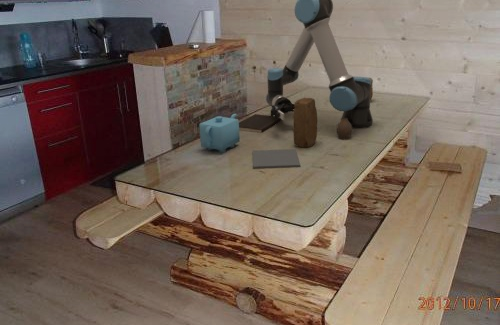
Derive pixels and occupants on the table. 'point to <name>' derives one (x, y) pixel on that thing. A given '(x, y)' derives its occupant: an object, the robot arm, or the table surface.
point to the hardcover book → (258, 123)
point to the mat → (275, 158)
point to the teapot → (219, 133)
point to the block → (305, 122)
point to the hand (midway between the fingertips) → (298, 115)
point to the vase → (344, 129)
